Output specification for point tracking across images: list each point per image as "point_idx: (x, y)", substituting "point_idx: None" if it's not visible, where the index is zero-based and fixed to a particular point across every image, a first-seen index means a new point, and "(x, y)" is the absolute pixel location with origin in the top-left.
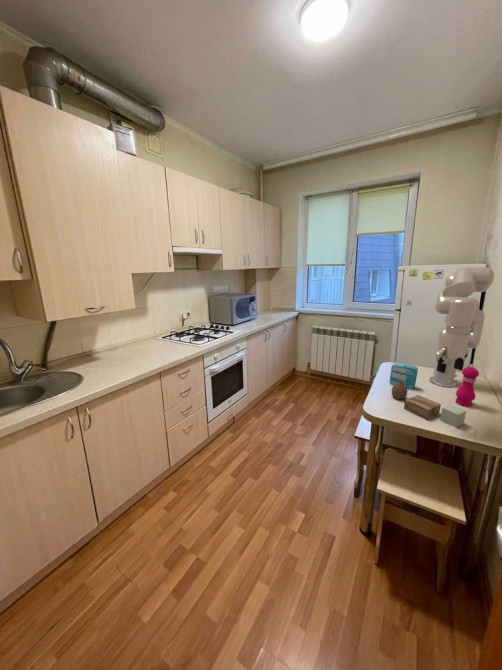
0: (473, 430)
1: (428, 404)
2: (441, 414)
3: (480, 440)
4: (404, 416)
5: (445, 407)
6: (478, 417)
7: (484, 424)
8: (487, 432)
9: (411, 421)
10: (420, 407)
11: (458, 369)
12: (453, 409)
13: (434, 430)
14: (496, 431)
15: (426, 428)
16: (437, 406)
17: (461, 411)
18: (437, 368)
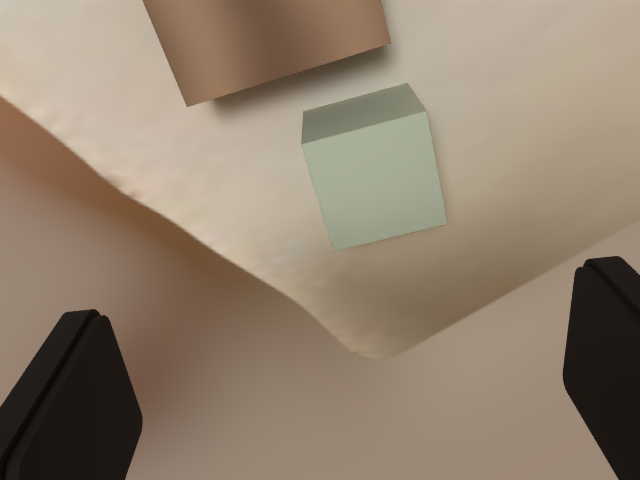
0: (410, 248)
1: (266, 21)
2: (303, 128)
3: (351, 320)
4: (56, 5)
5: (334, 145)
6: (615, 139)
7: (551, 213)
8: (470, 277)
9: (72, 82)
10: (162, 40)
11: (567, 348)
12: (370, 185)
13: (165, 203)
14: (532, 279)
15: (127, 176)
16: (335, 58)
17: (404, 220)
18: (52, 350)
